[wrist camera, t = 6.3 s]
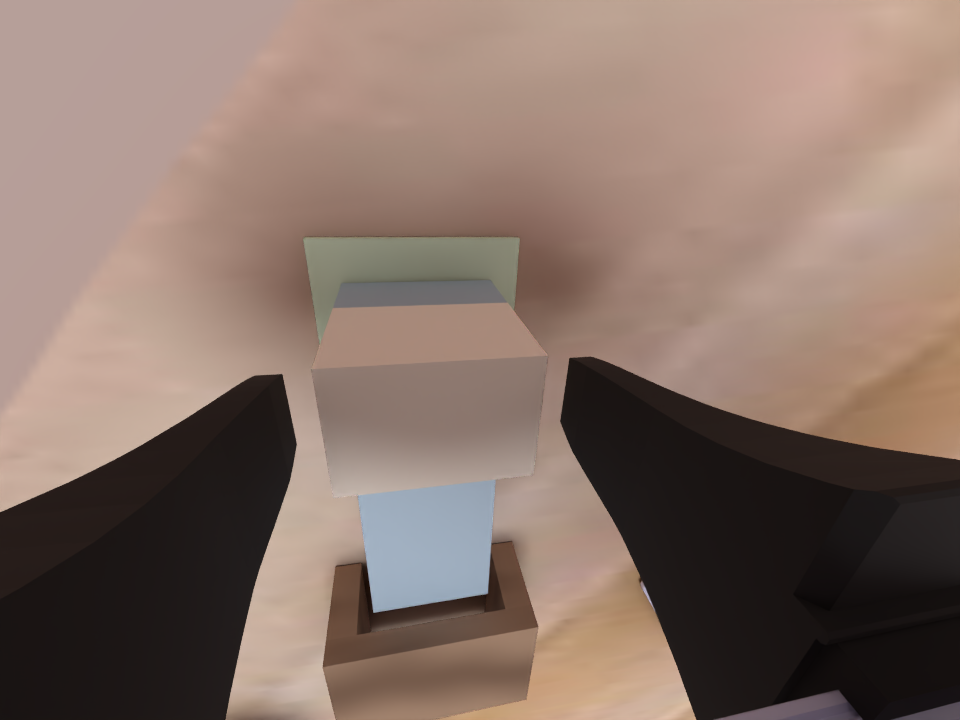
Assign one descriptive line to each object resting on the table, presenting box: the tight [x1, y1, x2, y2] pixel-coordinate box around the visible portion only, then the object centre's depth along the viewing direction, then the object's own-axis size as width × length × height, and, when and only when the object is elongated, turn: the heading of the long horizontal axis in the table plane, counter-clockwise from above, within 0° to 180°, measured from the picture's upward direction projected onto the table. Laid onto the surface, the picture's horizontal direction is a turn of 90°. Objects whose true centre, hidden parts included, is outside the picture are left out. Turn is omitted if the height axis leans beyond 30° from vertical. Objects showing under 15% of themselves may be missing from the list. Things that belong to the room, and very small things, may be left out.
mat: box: [303, 237, 520, 345], centre depth 15 cm, size 7×7×1 cm
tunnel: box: [323, 542, 538, 720], centre depth 20 cm, size 6×9×4 cm
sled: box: [311, 280, 548, 613], centre depth 14 cm, size 14×5×6 cm, turn 178°
